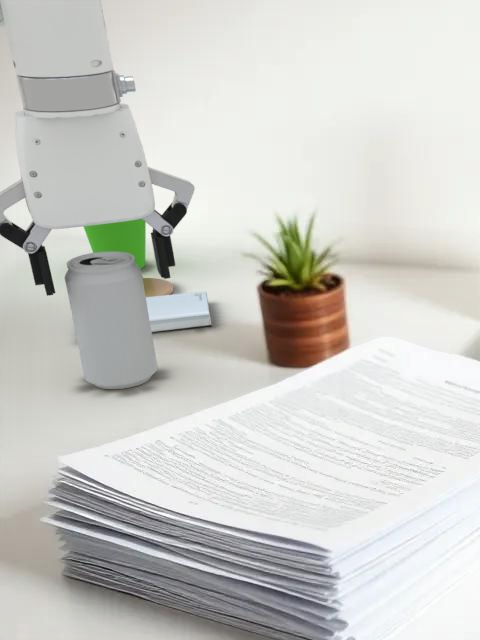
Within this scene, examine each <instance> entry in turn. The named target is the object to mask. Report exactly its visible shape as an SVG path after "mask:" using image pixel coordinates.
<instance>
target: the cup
mask: <svg viewBox="0 0 480 640" xmlns="http://www.w3.org/2000/svg"><path fill="white" fill-rule="evenodd" d="M146 224H147V223H146V222H145V221H144V220H143V219H137V220H131V221H124V222H115V223H107V224H99V225H91V226H82V227H83V229H84V232H85V233H86V237H87V241H88V243H89V245H90V248H91V250H92V253H96V252H111V251H112V252H125V253H129V254H132V255H133V256H134V257H135V263H136V264H137V265H138V266H139V267H140V268H141V270H142V269H143V268H144V267H145V264H146V243H147V242H146V241H147V240H146V239H147V238H146V237H147V236H146V235H147V233H146V231H147V229H146V228H147V227H146Z"/></svg>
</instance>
